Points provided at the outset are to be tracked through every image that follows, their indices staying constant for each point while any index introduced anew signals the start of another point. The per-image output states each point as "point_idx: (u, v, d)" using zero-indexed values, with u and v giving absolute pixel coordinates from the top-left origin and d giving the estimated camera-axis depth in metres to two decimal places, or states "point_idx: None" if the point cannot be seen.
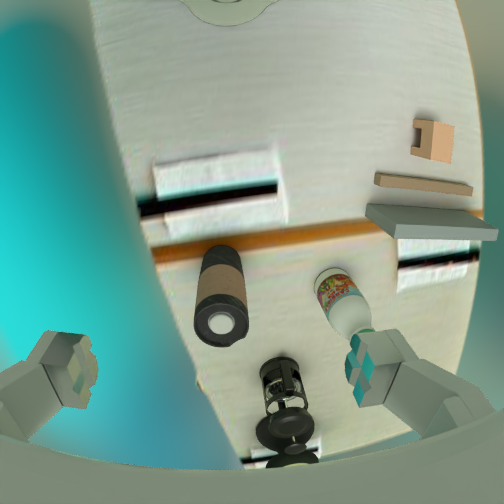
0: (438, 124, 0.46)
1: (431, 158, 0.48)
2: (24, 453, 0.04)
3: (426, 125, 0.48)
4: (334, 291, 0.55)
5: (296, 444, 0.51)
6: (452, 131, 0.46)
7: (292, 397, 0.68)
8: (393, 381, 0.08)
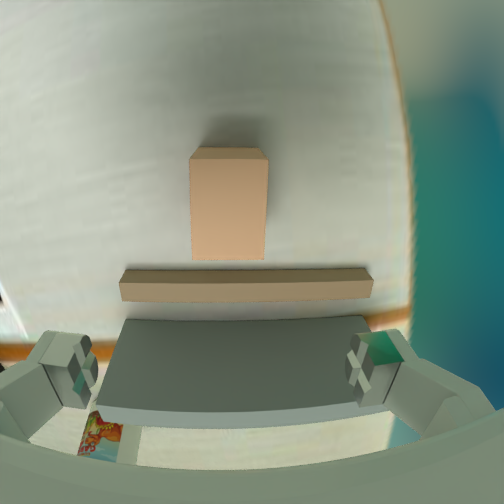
0: (205, 166, 0.20)
1: (195, 256, 0.22)
2: (24, 453, 0.04)
3: None
4: (83, 441, 0.30)
5: None
6: (261, 175, 0.20)
7: None
8: (393, 381, 0.08)
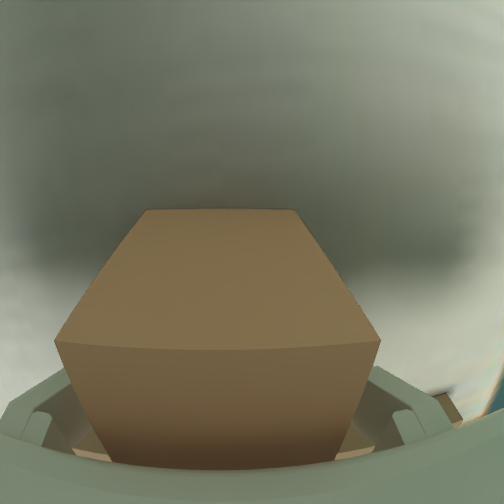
0: (118, 370, 0.04)
1: None
2: (24, 453, 0.04)
3: None
4: None
5: None
6: (344, 390, 0.05)
7: None
8: None
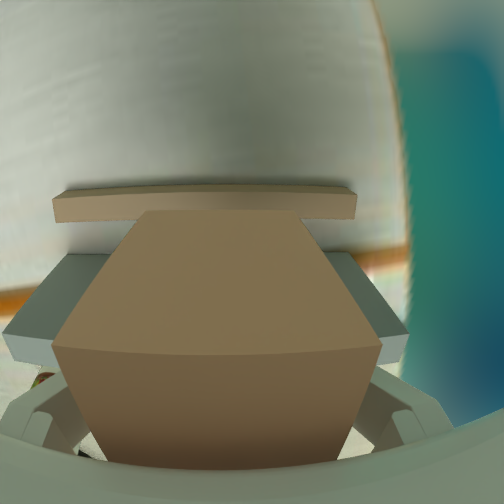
0: (115, 375, 0.04)
1: None
2: (24, 453, 0.04)
3: None
4: None
5: None
6: (345, 394, 0.05)
7: None
8: None
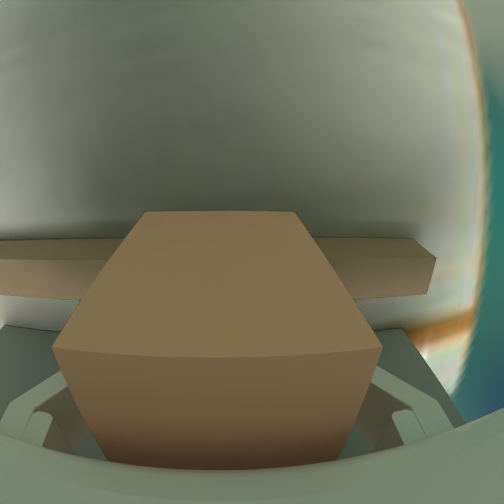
0: (116, 377, 0.04)
1: None
2: (24, 453, 0.04)
3: None
4: None
5: None
6: (345, 396, 0.05)
7: None
8: None
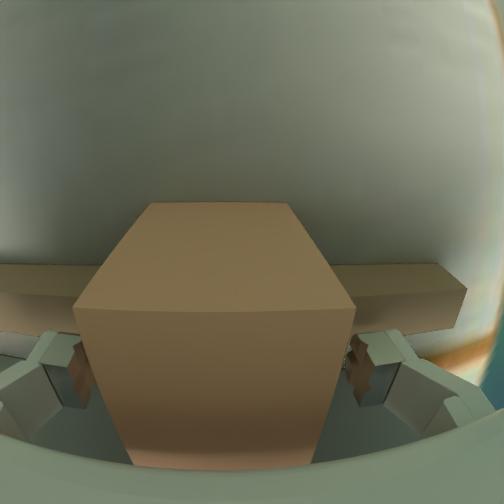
0: (127, 333, 0.05)
1: None
2: (24, 453, 0.04)
3: None
4: None
5: None
6: (326, 354, 0.06)
7: None
8: (393, 381, 0.08)
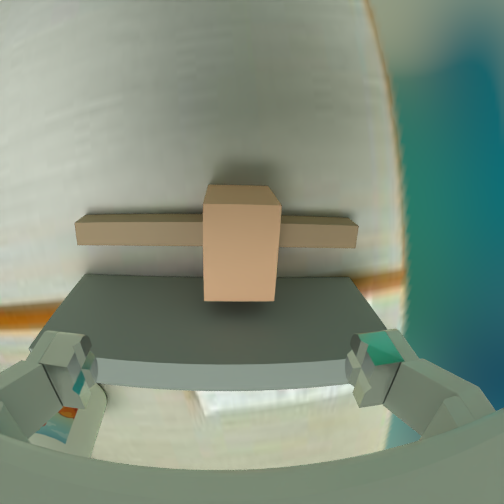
0: (218, 211, 0.20)
1: (207, 297, 0.23)
2: (24, 453, 0.04)
3: None
4: None
5: None
6: (274, 221, 0.21)
7: None
8: (393, 381, 0.08)
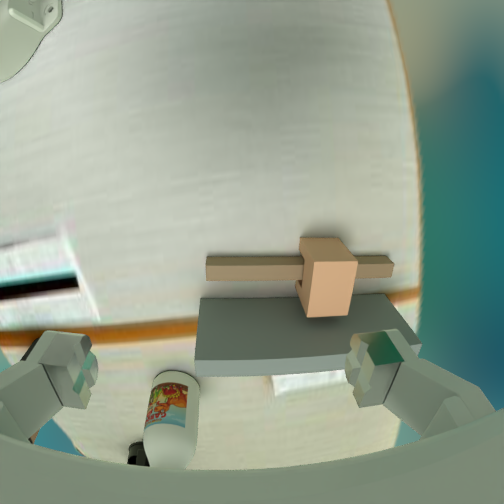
0: (322, 265, 0.33)
1: (309, 315, 0.36)
2: (24, 453, 0.04)
3: (308, 260, 0.36)
4: (152, 410, 0.40)
5: None
6: (353, 270, 0.34)
7: None
8: (394, 381, 0.08)
